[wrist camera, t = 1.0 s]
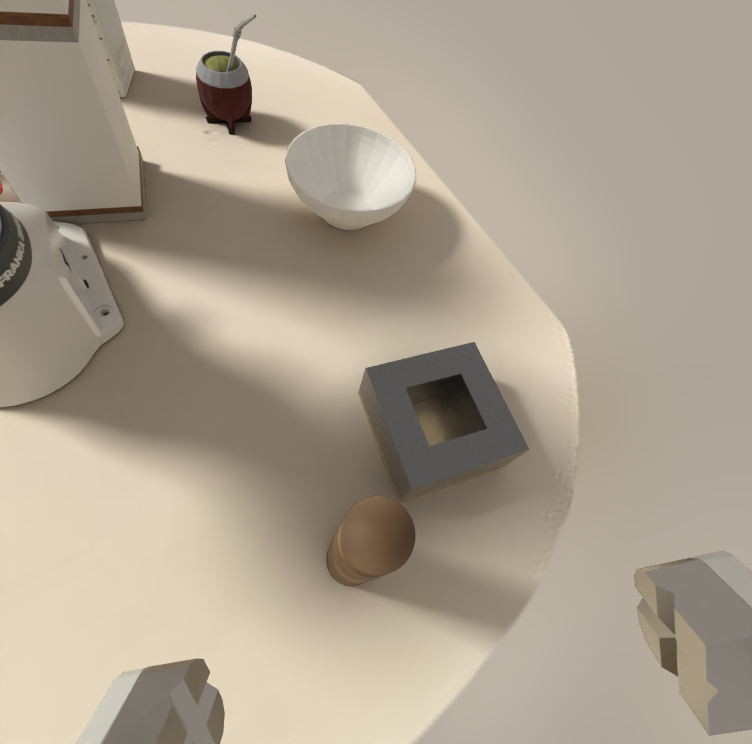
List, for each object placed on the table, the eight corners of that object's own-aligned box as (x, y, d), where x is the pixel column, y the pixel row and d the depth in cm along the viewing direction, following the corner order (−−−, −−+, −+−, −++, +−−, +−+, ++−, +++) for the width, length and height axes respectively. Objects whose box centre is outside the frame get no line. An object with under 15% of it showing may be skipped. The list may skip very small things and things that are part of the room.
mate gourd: (201, 106, 65) (177, -21, 52) (256, 105, 67) (246, -17, 54) (207, 139, 62) (183, 13, 49) (264, 137, 64) (256, 15, 51)
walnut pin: (320, 541, 39) (332, 508, 26) (366, 525, 41) (399, 486, 28) (335, 593, 38) (355, 585, 25) (382, 574, 39) (426, 558, 26)
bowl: (426, 213, 62) (441, 170, 56) (354, 275, 54) (361, 233, 48) (340, 154, 65) (344, 107, 59) (260, 206, 57) (255, 158, 51)
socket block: (358, 393, 47) (365, 368, 42) (457, 367, 50) (474, 341, 46) (398, 502, 42) (411, 488, 37) (504, 466, 46) (529, 449, 41)
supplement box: (82, 63, 65) (39, -49, 54) (136, 70, 66) (105, -38, 55) (69, 92, 62) (20, -20, 51) (126, 99, 63) (90, -9, 52)
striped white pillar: (143, 160, 58) (-27, -339, 27) (146, 219, 53) (-52, -299, 23) (43, 163, 55) (-273, -393, 24) (37, 226, 50) (-357, -358, 20)
